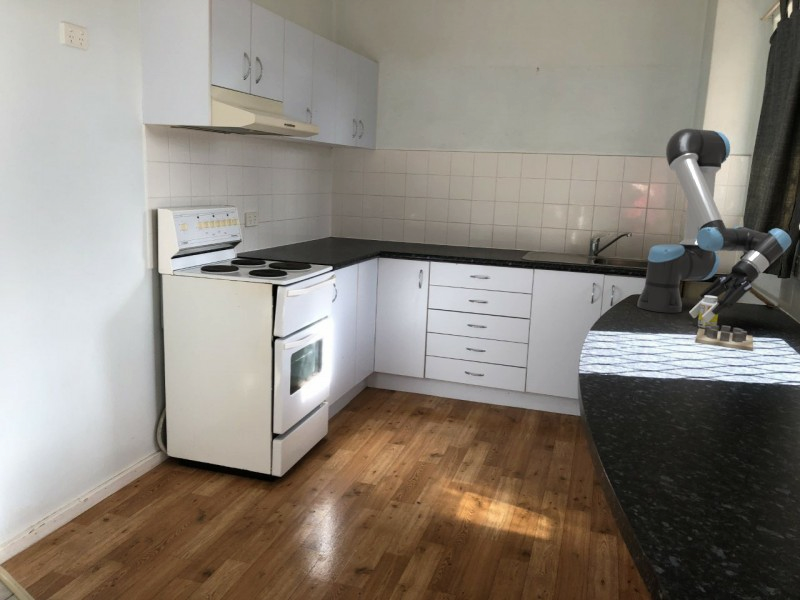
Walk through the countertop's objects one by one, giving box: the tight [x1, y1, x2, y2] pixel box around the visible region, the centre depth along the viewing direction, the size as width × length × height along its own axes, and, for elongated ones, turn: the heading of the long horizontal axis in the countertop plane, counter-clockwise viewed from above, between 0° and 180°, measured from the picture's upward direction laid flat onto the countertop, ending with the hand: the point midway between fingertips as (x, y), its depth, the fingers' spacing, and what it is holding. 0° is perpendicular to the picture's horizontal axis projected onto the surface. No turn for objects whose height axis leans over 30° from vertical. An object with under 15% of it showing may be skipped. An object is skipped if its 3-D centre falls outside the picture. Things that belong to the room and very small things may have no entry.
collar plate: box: [694, 325, 754, 351], centre depth 198 cm, size 15×17×4 cm
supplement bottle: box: [697, 295, 719, 329], centre depth 215 cm, size 6×6×10 cm
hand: (698, 317), depth 215 cm, fingers closed on supplement bottle, 5 cm apart
